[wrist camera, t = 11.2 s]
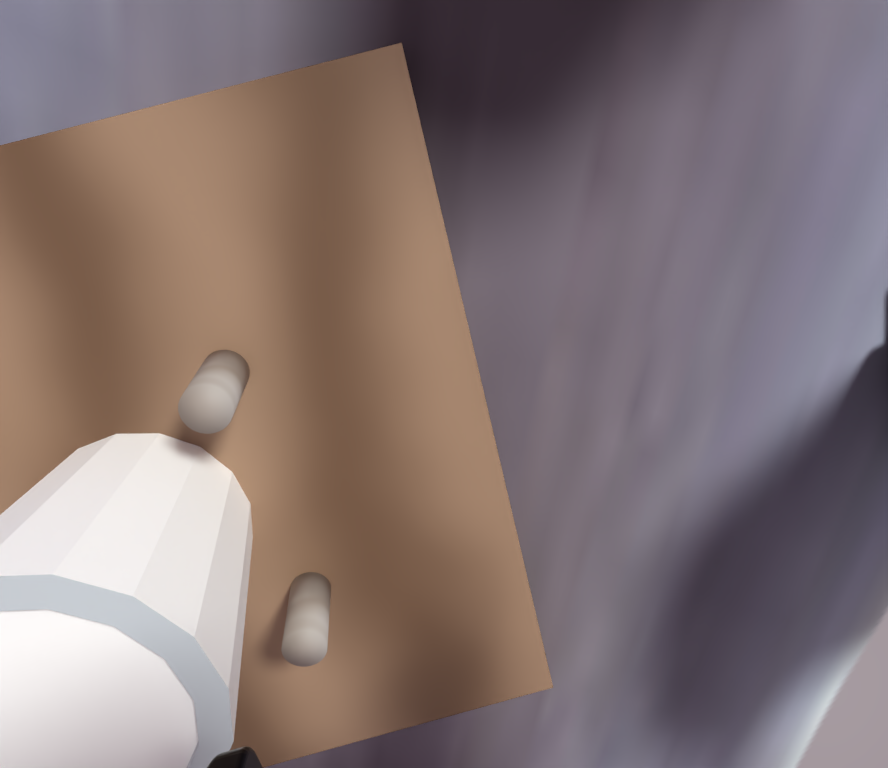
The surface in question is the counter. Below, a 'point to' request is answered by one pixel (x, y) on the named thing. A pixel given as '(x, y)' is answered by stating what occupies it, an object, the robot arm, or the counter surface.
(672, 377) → the counter surface
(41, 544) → the shot glass
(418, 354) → the pin plate
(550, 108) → the counter surface
